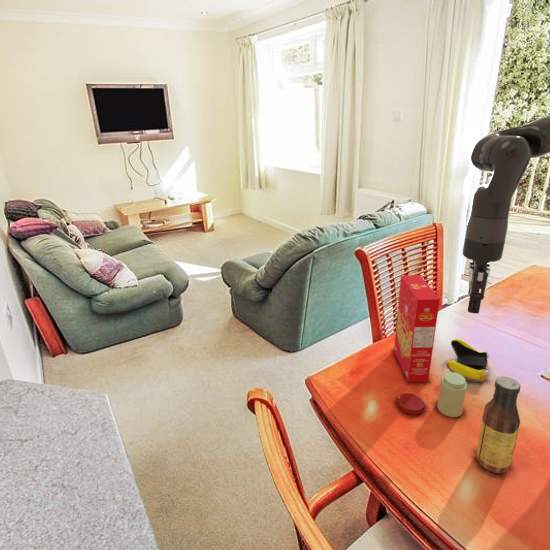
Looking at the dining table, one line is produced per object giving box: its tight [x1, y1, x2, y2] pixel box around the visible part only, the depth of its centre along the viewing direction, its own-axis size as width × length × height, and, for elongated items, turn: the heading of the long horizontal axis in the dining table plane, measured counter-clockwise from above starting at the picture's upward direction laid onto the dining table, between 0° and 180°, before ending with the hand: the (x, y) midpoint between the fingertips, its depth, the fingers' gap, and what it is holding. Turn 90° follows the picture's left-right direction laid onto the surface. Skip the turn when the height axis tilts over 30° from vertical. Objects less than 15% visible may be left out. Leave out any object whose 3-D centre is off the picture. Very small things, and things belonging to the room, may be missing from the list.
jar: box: [436, 371, 468, 418], centre depth 89 cm, size 6×6×9 cm
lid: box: [397, 393, 425, 416], centre depth 92 cm, size 6×6×1 cm
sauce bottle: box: [475, 375, 521, 474], centre depth 73 cm, size 7×6×20 cm
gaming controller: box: [445, 337, 490, 383], centre depth 103 cm, size 15×6×10 cm
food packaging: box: [393, 274, 441, 383], centre depth 102 cm, size 15×5×25 cm, turn 178°
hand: (473, 303), depth 85 cm, fingers open, 8 cm apart
